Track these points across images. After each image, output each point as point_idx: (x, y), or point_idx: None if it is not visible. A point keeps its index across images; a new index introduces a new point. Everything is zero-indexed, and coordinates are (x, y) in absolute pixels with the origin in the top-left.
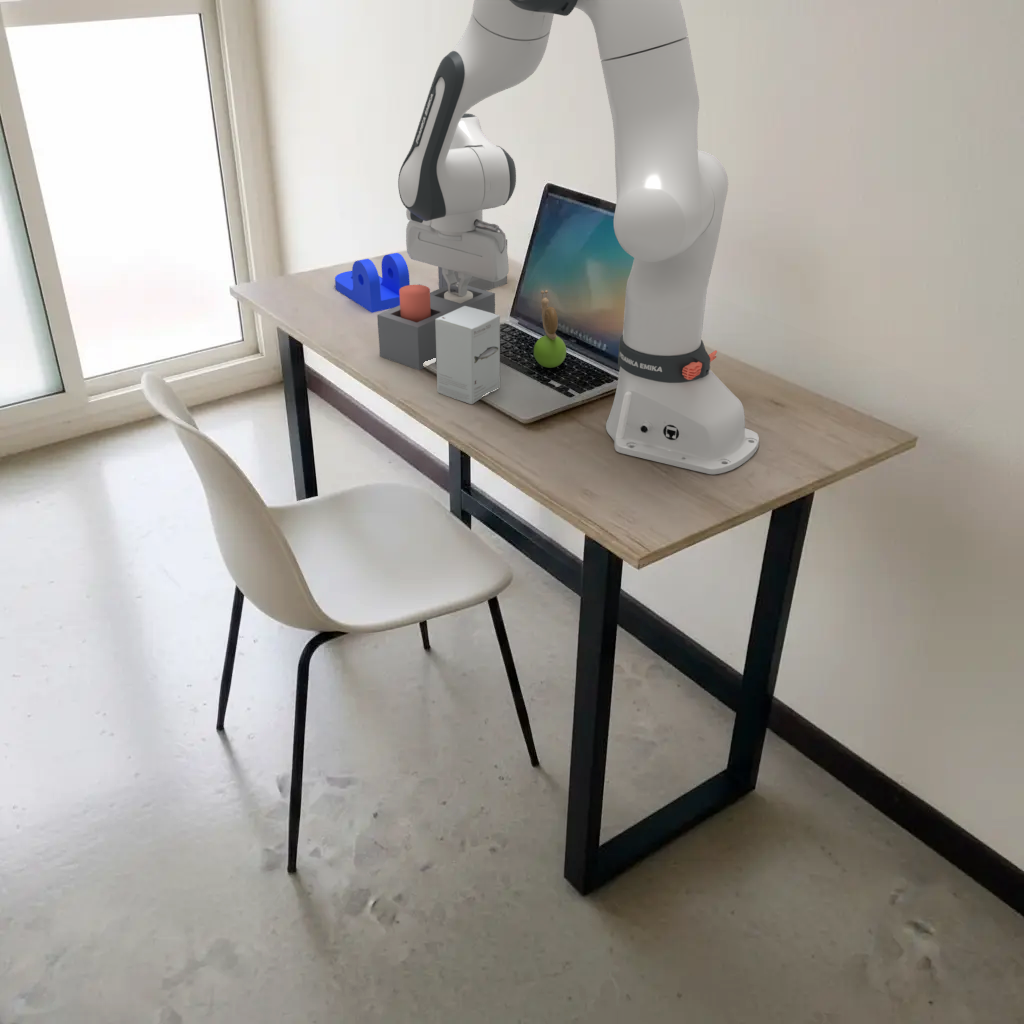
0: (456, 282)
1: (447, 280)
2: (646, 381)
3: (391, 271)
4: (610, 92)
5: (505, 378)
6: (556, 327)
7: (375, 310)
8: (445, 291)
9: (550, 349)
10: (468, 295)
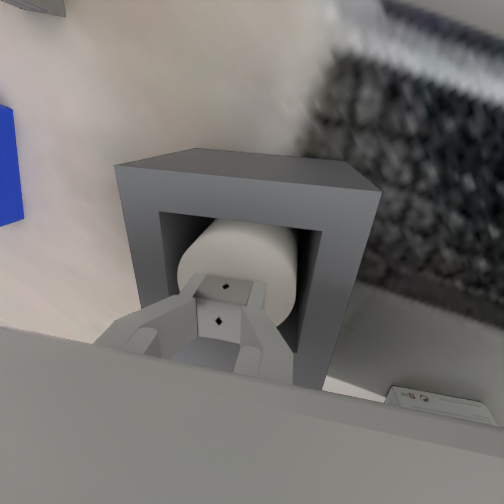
0: (197, 304)
1: (175, 349)
2: None
3: None
4: None
5: (481, 365)
6: None
7: (19, 210)
8: (168, 276)
9: None
10: (276, 281)
